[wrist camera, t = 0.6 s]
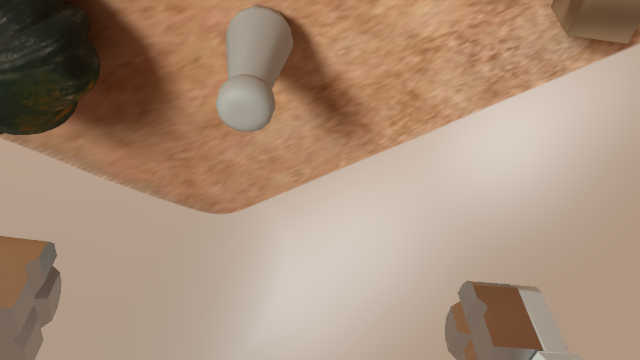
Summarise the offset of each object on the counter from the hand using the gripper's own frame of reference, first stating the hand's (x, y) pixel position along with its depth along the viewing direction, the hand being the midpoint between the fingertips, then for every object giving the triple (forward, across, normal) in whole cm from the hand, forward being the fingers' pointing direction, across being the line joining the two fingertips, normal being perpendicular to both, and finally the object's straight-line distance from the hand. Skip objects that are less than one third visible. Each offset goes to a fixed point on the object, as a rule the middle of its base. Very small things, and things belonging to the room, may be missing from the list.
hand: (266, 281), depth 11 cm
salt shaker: (+40, +1, +11) cm, 41 cm away
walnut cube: (+37, -26, +2) cm, 45 cm away
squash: (+41, +22, +14) cm, 48 cm away
